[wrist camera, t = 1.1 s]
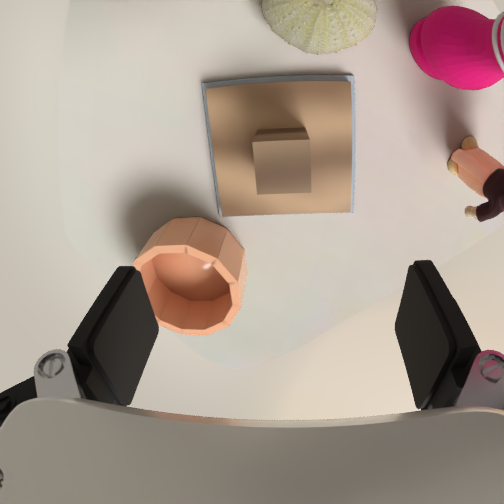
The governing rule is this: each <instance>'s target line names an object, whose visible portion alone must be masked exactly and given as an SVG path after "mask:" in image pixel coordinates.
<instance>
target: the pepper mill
mask: <svg viewBox="0 0 504 504" xmlns="http://www.w3.org/2000/svg"><path fill="white" fill-rule="evenodd" d="M410 49H411V52H412V55H413V58H414V59H415V61H416V63H417V64H418V66H419V67H420V68H421V69H422V70H423V71H424V72H425V73H426V74H428V75H429V76H431V77H433V78H435V79H439V80H443V81H444V82H446V83H447V84H449V85H451V86H453V87H455V88H459V89H463V90H480V89H483V88H486V87H489V86H491V85H493V84H495V83H496V82H498V81H499V80H501V79H502V78H504V12H502V13H501V14H499V15H498V17H497V18H496V19H488V18H487V17H485V16H483V15H482V14H480V13H478V12H476V11H474V10H471V9H468V8H465V7H460V6H447V7H442V8H438V9H437V10H435V11H433V12H432V13H431V14H430V15H429V16H428V17H426V18H423V19H421V20H420V21H418V22H417V23H416V24H415V25H414V27H413V29H412V31H411V34H410Z"/></svg>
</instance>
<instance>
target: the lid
mask: <svg viewBox="0 0 504 504" xmlns="http://www.w3.org/2000/svg"><path fill="white" fill-rule="evenodd" d="M206 98H207V106H208V114H209V122H210V130H211V138H212V145H213V153H214V161H215V168H216V175H217V183H218V190H219V197H220V204H221V211H222V217H225V216H247V215H272V214H302V213H343V212H350V211H351V186H352V96H351V81H285V82H267V83H253V84H241V85H231V86H222V87H214V88H207V89H206Z"/></svg>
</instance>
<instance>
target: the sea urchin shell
mask: <svg viewBox="0 0 504 504" xmlns="http://www.w3.org/2000/svg"><path fill="white" fill-rule="evenodd" d="M261 7H262V12H263V15H264V18H265V19H266V21H267V22H268V24H269V25H270V27H271V29H272V30H273V31H274V32H275V33H276V34H278V35H279V36H280V37H281V38H282V39H284V40H285V41H286V42H288V44H290V45H293V46H295V47H297V48H299V49H300V50H302V51H304V52H306V53H312V54H317V55H318V54H324V53H331V52H336V53H337V52H338V51H340V50H342V49H345V48H348V47H352V46H354V45H357V43H358V42H360V41H361V40H362V39H363V38H365V37H367V36H368V35H369V34H370V32H371V30H372V29H373V27H374V26H375V21H376V11H377V8H376V3H375V0H262V4H261Z"/></svg>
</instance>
